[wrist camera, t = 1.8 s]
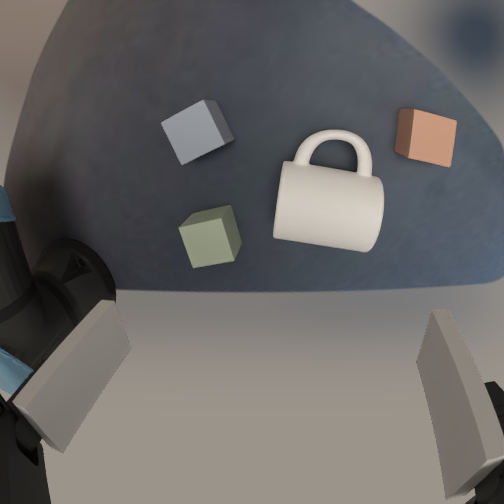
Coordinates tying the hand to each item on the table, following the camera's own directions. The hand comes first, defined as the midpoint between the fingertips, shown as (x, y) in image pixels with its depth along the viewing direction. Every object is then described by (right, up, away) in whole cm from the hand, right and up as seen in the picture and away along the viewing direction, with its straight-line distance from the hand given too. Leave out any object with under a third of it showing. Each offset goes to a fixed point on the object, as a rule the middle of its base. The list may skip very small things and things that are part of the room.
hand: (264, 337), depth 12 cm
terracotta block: (+18, +17, +18) cm, 30 cm away
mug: (+8, +11, +22) cm, 26 cm away
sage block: (-5, +6, +26) cm, 28 cm away
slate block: (-6, +17, +21) cm, 28 cm away
